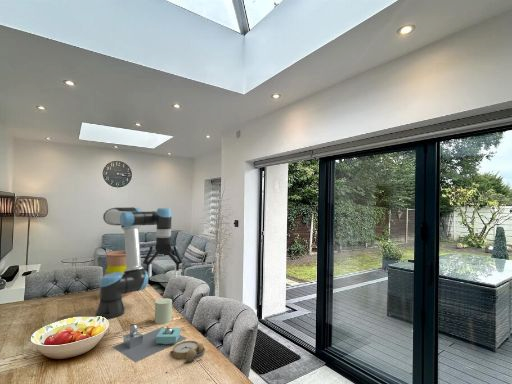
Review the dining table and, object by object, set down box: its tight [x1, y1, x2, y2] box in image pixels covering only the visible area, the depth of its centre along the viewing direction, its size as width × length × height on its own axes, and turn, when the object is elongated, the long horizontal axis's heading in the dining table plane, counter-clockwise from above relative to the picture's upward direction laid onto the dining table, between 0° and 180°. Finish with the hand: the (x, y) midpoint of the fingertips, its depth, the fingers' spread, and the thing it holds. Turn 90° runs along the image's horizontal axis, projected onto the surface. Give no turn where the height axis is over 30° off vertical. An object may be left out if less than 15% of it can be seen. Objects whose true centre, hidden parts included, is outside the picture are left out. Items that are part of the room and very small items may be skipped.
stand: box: [122, 323, 144, 349], centre depth 127 cm, size 6×6×8 cm
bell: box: [160, 325, 173, 345], centre depth 130 cm, size 8×8×6 cm
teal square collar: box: [156, 327, 181, 344], centre depth 130 cm, size 9×9×3 cm
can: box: [154, 297, 173, 325], centre depth 153 cm, size 9×9×12 cm
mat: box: [112, 326, 188, 363], centre depth 128 cm, size 20×26×1 cm
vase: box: [103, 250, 133, 298], centre depth 201 cm, size 22×22×30 cm
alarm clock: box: [170, 340, 206, 363], centre depth 119 cm, size 11×5×15 cm
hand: (162, 276), depth 147 cm, fingers open, 13 cm apart
